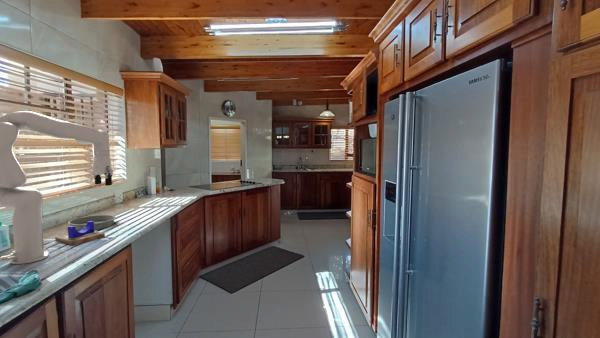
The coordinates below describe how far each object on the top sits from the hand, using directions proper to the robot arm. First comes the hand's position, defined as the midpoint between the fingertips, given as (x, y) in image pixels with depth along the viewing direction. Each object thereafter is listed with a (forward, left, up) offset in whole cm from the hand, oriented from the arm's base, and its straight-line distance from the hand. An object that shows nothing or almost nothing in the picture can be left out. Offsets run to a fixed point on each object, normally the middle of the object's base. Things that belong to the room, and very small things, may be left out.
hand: (103, 184), depth 165 cm
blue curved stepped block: (-10, +6, -26) cm, 29 cm away
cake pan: (+8, +28, -29) cm, 41 cm away
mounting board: (-10, +6, -28) cm, 31 cm away
